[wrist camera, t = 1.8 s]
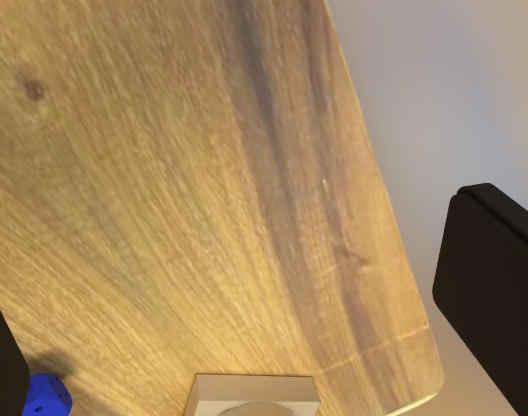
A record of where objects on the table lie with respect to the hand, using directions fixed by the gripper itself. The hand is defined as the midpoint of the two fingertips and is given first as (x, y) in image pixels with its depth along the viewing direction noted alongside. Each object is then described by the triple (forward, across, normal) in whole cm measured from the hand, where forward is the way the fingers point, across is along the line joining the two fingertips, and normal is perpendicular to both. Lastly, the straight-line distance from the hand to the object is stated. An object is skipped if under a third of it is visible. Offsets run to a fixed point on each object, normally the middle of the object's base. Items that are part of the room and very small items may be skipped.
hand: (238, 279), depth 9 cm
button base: (+14, -1, +25) cm, 29 cm away
